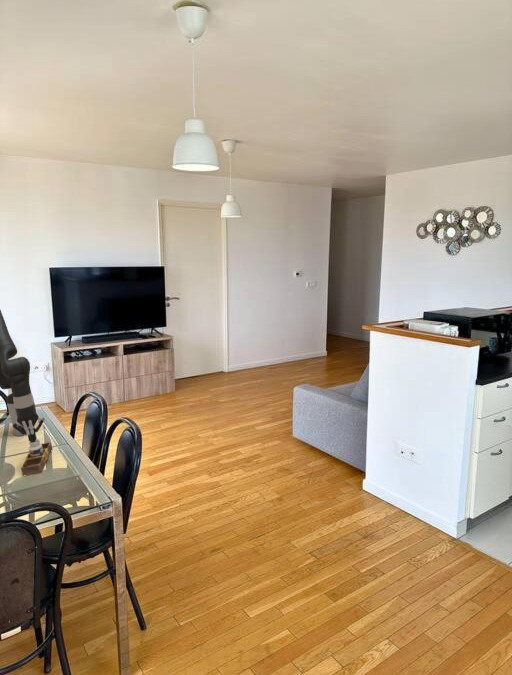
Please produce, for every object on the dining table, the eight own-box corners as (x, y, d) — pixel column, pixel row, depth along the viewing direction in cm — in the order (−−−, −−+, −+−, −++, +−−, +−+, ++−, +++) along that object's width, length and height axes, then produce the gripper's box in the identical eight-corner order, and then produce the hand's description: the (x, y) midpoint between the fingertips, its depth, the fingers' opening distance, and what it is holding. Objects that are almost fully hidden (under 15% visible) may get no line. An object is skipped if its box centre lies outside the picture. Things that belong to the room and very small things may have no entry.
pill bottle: (29, 463, 200) (25, 444, 198) (34, 457, 205) (29, 439, 203) (42, 461, 200) (38, 443, 198) (46, 455, 205) (42, 437, 203)
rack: (35, 452, 212) (33, 444, 211) (53, 449, 213) (51, 441, 212) (22, 476, 192) (20, 467, 191) (42, 472, 193) (40, 464, 192)
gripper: (43, 398, 200) (51, 435, 205) (10, 403, 198) (19, 440, 203) (38, 405, 193) (47, 442, 198) (4, 410, 191) (14, 448, 195)
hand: (33, 441), depth 200 cm, fingers closed
